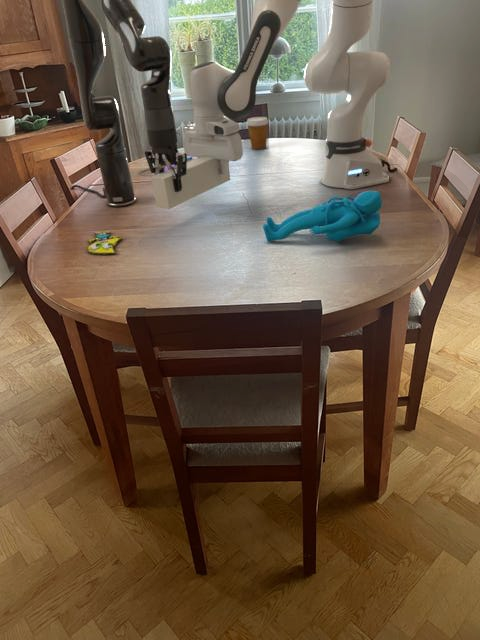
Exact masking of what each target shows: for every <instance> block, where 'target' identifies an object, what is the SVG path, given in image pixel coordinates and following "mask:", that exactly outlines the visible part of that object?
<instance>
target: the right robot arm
mask: <svg viewBox="0 0 480 640" xmlns="http://www.w3.org/2000/svg"><path fill="white" fill-rule="evenodd" d="M373 2H374V0H331V11H330V21H329V29H328V33H327V36H326V39H325V41H324V43H323V44H322V46H321V48H320V49H319V51H318V52H316V54H314V55H313V56H312V57H310V59H309V61H308V62H307V64H306V66H305V68H304V73H303V79H304V84H305V86H306V88H307V89H308V90H309V91H310V92H311V93H313V94H321V95H333V94H345V93H346V94H347V97H346V98H345V100H344V101H343V102H341V103H339V104H338V105H336V106H335V107H333V108H332V109H331V110H330V111H329V113H328V115H327V123H326V124H327V126H326V127H327V129H326V130H327V133H326V139H325V145H324V154H325V155H324V156H325V164H324V170H323V175H322V178H321V183H322V185H324V186H327V187H330V188H338V189H339V188H341V189H346V190H356V189H361V188H366V187H371V186H376V185H380V184H385V183H389V182H390V176H389V175H388V174H387V173H386V172H385V171H384V167H385V165H386V167H387V171H388V172H389V173H394V172H396V171H398V167H393V168H391V164H390V163H389V162H388V161H386V160H385V159H383V158H380V157H377V156H376V155H375V154H373V152H371V151H370V150H368V148H370V147H371V146H373V141H372V140H371V139H368V138H367V139H366V138H364V137H363V135H362V134H363V125H364V124H363V123H364V119H365V118H364V117H365V113H366V109H367V106H368V104H369V103H370V101H371V99H372V98H373V97H374V95H375V94H376V93H377V92H378V91H379V90H380V89H381V88H383V87H384V86H385V85H386V83H387V82H388V79H389V78H390V75H391V67H392V66H391V62H390V59H389V57H388V56H387V54H386V53H385V52H383V51H382V52H381V51H376V50H362V51H360V50H359V51H349V49H350V48H351V47H353V45H355V44H357V43H358V42H359V41H361V40H363V39H364V37H366V36H367V34H368V32H369V30H370V28H371V21H372V13H373V12H372V10H373ZM301 3H302V0H254V5H253V9H252V17H251V26H250V32H249V36H248V39H247V41H246V44H245V46H244V49H243V51H242V53H241V56H240V57H239V60H238V63H237V65H236V68H235V70H231V69H229V68H226V67H224V66H223V65H221V64H219V63H218V62H217V61H214V60H209V61H206V62H203V63H199V64H197V65H195V66H194V67H193V68H192V69H191V71H190V73H189V89H190V90H189V91H190V99H191V102H192V105H193V113H192V116H193V124H192V123H187V124H186V125H184V127H183V151H184V153H186V154H187V157H192V158H199V157H202V156H205V157H214V158H216V159H218V160H221V163H223V165H222V168H220V169H219V171H220V172H219V173H220V174H222V175H225V174H226V173H227V166H228V163H229V164H230V162H237V161H240V160H241V159H242V157H244V153H243V152H244V151H243V150H244V148H243V140H242V136H241V135H240V133H239V131H240V123H238V122H236V121H234V120H241V119H244V118H246V117H248V116H249V115H250V114H251V113H252V112H253V109H255V105H256V98H257V85H258V81H259V80H260V79H259V78H260V76H261V74H262V72H263V69H264V68H265V66H266V65H265V64H266V63H267V60H268V58H269V56H270V53H271V52H272V49H273V48H274V45H276V43H277V41H278V40H279V38H280V37H281V35H282V34H283V33H284V32H285V30H286V29H287V27H288V26H289V24H290V23H291V21H292V20H293V18H294V16H295V14H296V13H297V11H298V9H299V7H300V5H301Z"/></svg>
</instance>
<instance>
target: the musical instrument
mask: <svg viewBox="0 0 480 640" xmlns="http://www.w3.org/2000/svg"><path fill="white" fill-rule="evenodd" d="M192 160H193V157H192V156H188V157H187V162H189V161H192ZM171 166H172V167H173V166H175V164H174V165H171ZM153 167H154V168H155V166H153ZM147 170H150V168H149V167H148V168H146V169H141V170H139V171H138V173H139V174H142V175H143V174H145V175H148V174H151V172H144V171H147ZM167 170H168V168H167V166H166V167H165V171H167Z"/></svg>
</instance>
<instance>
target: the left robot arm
mask: <svg viewBox="0 0 480 640" xmlns="http://www.w3.org/2000/svg"><path fill="white" fill-rule="evenodd" d="M61 3H62V7H63V13H64V18H65V24H66V29H67V36H68V42H69V47H70V51H71V55H72V60H73V64H74V69H75V74H76V78H77V79H76V80H77V86H78V93H79V101H80V108H81V115H82V119H83V123H84V125H85V127H86V129H87V130H89V131H92V132H94V131H102V130H108V129H109V132H108V133H107V135H106V136H105V137H103V138H101V139H100V140H98V141H97V142H96V143H95V145H94V148H95V152H96V157H97V162H98V165H99V169H100V174H101V177H102V182H103V187H102V192H103V194H101V193H100V192H99V191H97V190H94V189H92V188H91V189H90V188H87V187H84V186H81V185H78V184H74V185H72V186H71V187H70V190H74V189H75V188H78V189H81V190H83V191H86V192H90V193H94V194H96V195H97V196H98V197H100V198H101V199H102V198H103V199H104V198H106V199H107V206H108V207H111V208H120V207H121V208H122V207H126V206H130V205H132V204H134V203H135V202H136V200H137V199H136V198H137V197H136V196H135V191H134V184H133V180H132V176H131V170H130V166H129V165H130V164H129V160H128V157H127V156H128V155H127V151H126V146H125V142H124V135H123V130H122V129H123V128H122V123H121V116H120V109H119V105H118V103H117V100H116V98H114V96H113V95H103V96H95V97H93V90H94V85H95V82H96V80H97V78H98V75H99V73H100V70H101V68H102V66H103V64H104V61H105V57H106V46H105V45H106V44H105V38H104V31H103V27H102V25H101V23H100V21H99V19H98V18H97V16H96V15H95V14H94V12H93V11H92V10H91V9H90V7H89V6H88V4H87V3H86V1H85V0H61ZM100 4H101V8H102V11H103V13H104V16H105V17H106V19H107V20H108V22H109V23H110V24H111V26H112V28H113V29H114V30H115V32H116V33H117V35H118V36H119V39H120V42H121V44H122V48H123V50H124V53H125V56H126V59H127V61H128V63H129V64H130V66H131V67H132V68H133V69H135V70H136V71H138V72H139V73H140V72H141V73H144V72H146V73H147V72H150V73H151V74H150V78H149V79H148V80H147V81H145V82H144V83H143V84H142V85H141V87H140V93H141V99H142V104H143V110H144V122H145V128H146V133H147V138H148V144H149V146H150V147H151V149H149V150H145V151H144V156H145V159H146V162H147V165H148V169H149V168H150V169H149V171H150V174H154V175H157V174H159V173H162V172H164V171H165V167H167V168H168V170H169V171H170V172H171V174H172V177H173V178H174V179H173V184H174V191H175V192H179V191H181V190H182V182H181V176H184V175H186V170H187V162H188V161H187V158H188V156H187V154H186V153H185V152H184V153H181V152H179V150H178V147H177V144H178V134H177V128H176V120H175V114H174V110H173V107H172V106H173V105H172V100H171V92H170V83H171V70H172V51H171V48H170V46H169V43H168V41H167V40H166V39H165V38H164V37H162V36H160V35H153V36H146V37H141V36H142V35H143V34H144V32H145V29H146V24H145V23H146V22H145V21H144V18H143V17H142V15H141V13H140V12H139V11H138V9H137V8H136V6H135V4H134V3H133V1H131V0H100ZM174 164H175V166H173V167H172V166H171V165H174ZM154 167H155V168H154ZM174 169H175V170H176V172H177V173H175V170H174Z"/></svg>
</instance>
